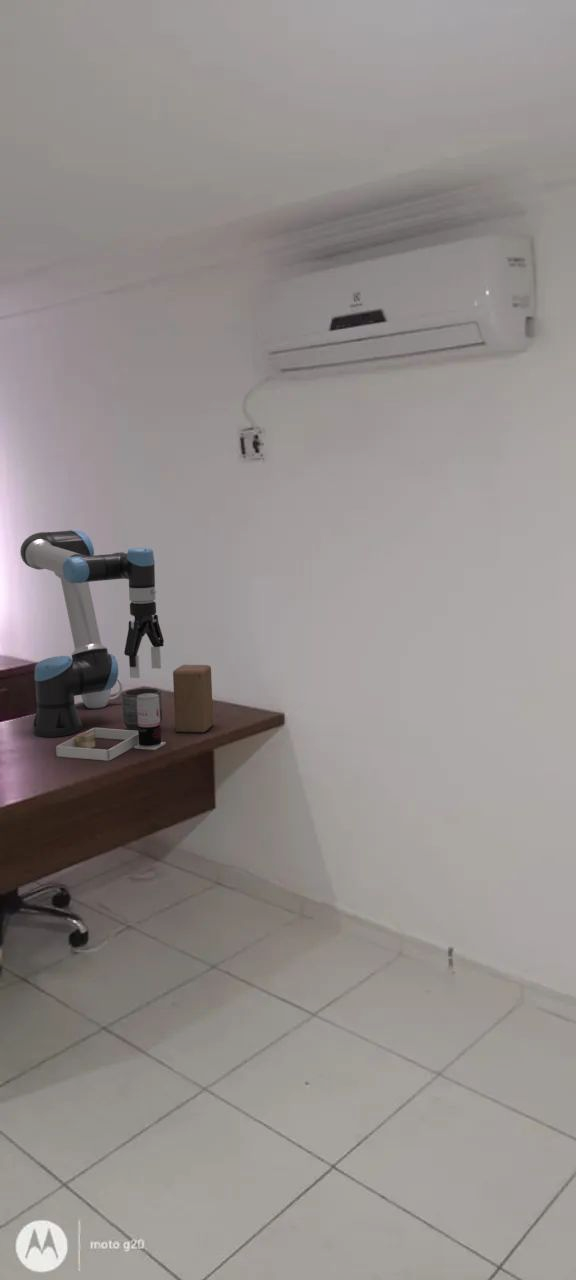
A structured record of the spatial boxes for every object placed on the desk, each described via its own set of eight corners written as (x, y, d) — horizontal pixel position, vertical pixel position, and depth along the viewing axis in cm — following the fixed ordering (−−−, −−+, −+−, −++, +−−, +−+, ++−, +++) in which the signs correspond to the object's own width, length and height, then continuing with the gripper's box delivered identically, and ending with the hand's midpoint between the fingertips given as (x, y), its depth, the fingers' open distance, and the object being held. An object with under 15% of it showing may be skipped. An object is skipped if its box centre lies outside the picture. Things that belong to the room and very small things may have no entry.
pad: (133, 748, 274) (133, 746, 274) (145, 741, 281) (144, 740, 281) (155, 749, 272) (155, 748, 272) (165, 743, 279) (165, 742, 279)
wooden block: (205, 733, 289) (202, 670, 285) (174, 732, 291) (171, 670, 287) (214, 725, 298) (211, 664, 295) (184, 724, 300) (181, 664, 297)
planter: (170, 728, 296) (168, 689, 294) (146, 737, 285) (144, 697, 283) (140, 724, 302) (138, 685, 300) (116, 733, 292) (113, 693, 289)
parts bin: (56, 756, 268) (55, 746, 268) (94, 737, 288) (93, 727, 287) (109, 760, 262) (108, 750, 262) (144, 740, 282) (143, 731, 282)
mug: (122, 701, 335) (120, 665, 333) (124, 708, 324) (122, 671, 322) (80, 704, 332) (78, 668, 330) (80, 711, 321) (78, 674, 319)
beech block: (76, 748, 276) (75, 735, 275) (83, 745, 279) (83, 732, 279) (87, 749, 274) (87, 736, 274) (95, 746, 278) (94, 733, 277)
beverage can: (152, 740, 281) (149, 692, 279) (165, 744, 277) (163, 695, 274) (134, 744, 276) (132, 695, 274) (148, 748, 272) (145, 699, 269)
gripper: (133, 607, 256) (137, 682, 260) (173, 596, 280) (175, 665, 283) (109, 607, 259) (113, 681, 263) (150, 595, 282) (153, 663, 286)
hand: (145, 672), depth 273 cm, fingers open, 13 cm apart
